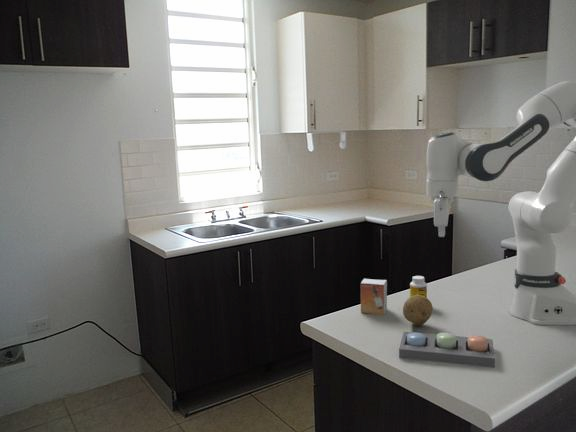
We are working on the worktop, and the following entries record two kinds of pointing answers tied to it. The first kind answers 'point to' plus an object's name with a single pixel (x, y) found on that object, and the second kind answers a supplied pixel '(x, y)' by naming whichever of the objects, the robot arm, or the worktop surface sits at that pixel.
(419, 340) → the slate blue button
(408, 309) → the natural sponge
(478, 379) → the worktop surface
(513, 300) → the robot arm
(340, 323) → the worktop surface
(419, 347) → the button panel
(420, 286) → the supplement bottle
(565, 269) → the worktop surface
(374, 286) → the small box
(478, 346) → the terracotta button
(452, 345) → the sage button
